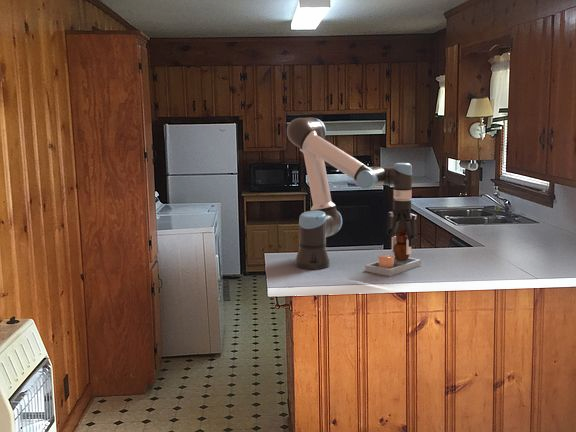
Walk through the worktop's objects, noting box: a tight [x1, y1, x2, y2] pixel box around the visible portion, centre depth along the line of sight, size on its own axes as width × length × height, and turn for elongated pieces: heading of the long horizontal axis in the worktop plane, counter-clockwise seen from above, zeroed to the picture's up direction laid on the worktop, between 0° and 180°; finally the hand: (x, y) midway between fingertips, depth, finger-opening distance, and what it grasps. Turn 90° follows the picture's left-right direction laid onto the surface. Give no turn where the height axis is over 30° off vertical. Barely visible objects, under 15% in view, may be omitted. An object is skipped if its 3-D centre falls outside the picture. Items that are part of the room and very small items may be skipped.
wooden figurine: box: [393, 226, 410, 261], centre depth 276 cm, size 7×6×15 cm
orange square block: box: [378, 254, 394, 269], centre depth 268 cm, size 6×6×6 cm
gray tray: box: [364, 255, 422, 277], centre depth 273 cm, size 12×24×4 cm, turn 138°
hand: (401, 252), depth 276 cm, fingers closed on wooden figurine, 7 cm apart
